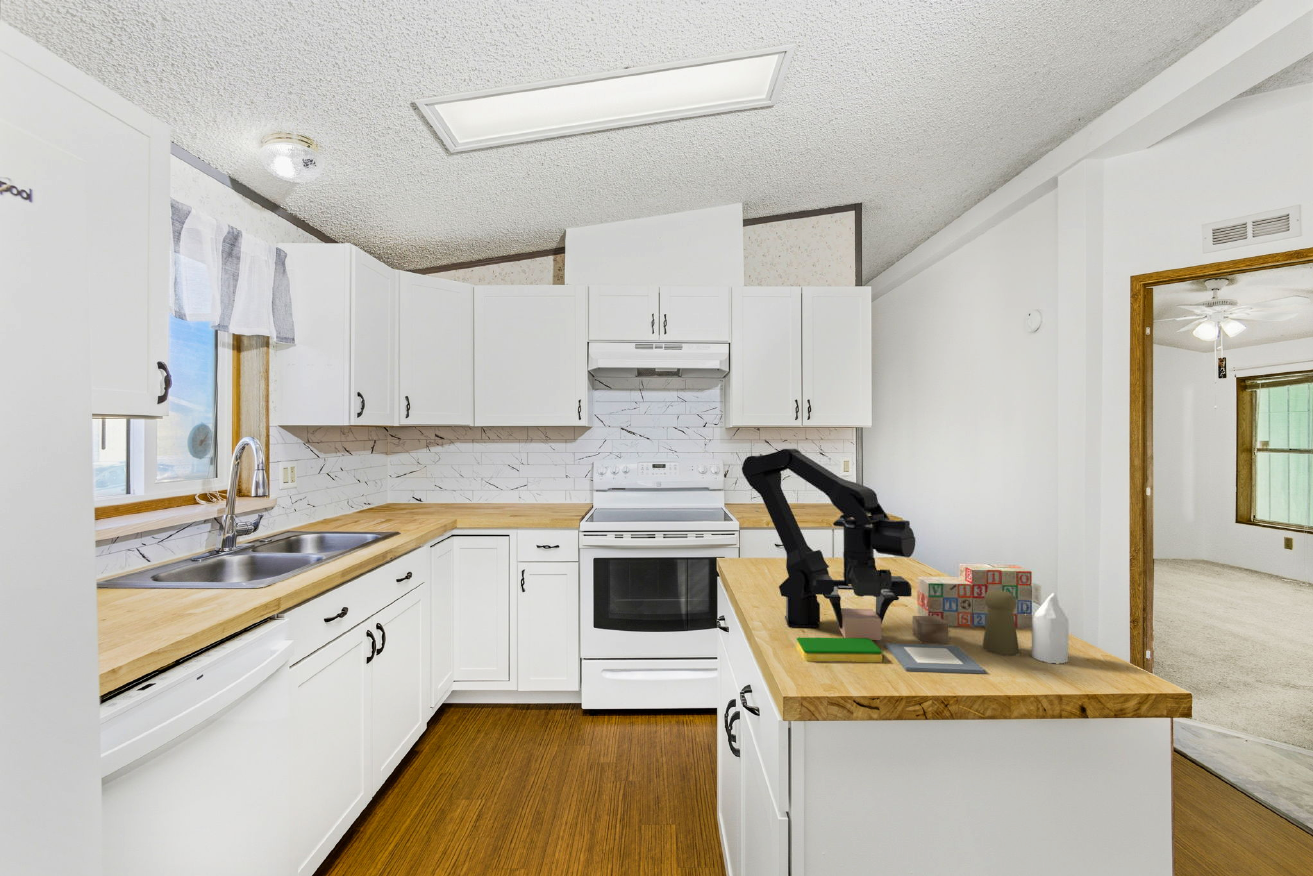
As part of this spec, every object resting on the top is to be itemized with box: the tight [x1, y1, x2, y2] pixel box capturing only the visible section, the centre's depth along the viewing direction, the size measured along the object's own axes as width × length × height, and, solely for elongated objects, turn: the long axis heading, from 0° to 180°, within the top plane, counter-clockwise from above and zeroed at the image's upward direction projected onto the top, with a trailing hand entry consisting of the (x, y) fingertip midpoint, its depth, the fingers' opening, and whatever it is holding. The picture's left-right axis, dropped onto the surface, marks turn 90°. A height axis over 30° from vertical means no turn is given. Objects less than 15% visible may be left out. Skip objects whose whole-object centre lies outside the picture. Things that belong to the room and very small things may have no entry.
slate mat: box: [885, 642, 987, 675], centre depth 104 cm, size 13×12×1 cm
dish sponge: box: [796, 637, 883, 663], centre depth 106 cm, size 7×14×2 cm, turn 88°
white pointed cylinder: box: [1031, 592, 1070, 665], centre depth 104 cm, size 6×12×6 cm
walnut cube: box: [912, 615, 950, 645], centre depth 114 cm, size 5×5×4 cm
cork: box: [982, 590, 1020, 657], centre depth 108 cm, size 6×6×11 cm
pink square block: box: [838, 607, 882, 641], centre depth 115 cm, size 7×7×4 cm
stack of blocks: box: [916, 563, 1033, 629], centre depth 125 cm, size 21×6×12 cm, turn 85°
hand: (859, 628), depth 115 cm, fingers closed on pink square block, 7 cm apart
